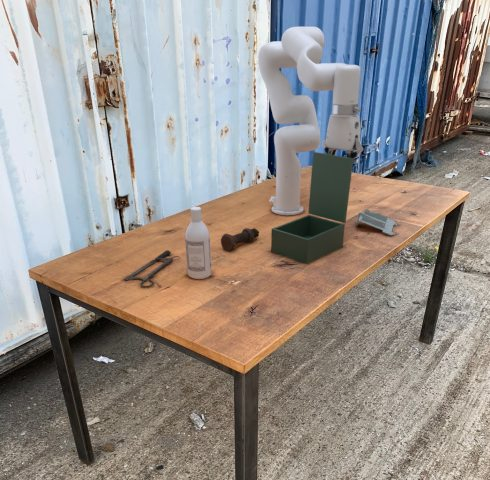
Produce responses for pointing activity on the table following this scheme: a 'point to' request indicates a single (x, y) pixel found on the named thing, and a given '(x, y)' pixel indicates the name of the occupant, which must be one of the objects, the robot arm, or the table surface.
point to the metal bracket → (376, 221)
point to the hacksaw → (154, 270)
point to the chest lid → (330, 186)
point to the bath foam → (198, 246)
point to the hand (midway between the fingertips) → (340, 170)
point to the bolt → (238, 238)
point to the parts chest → (307, 238)
